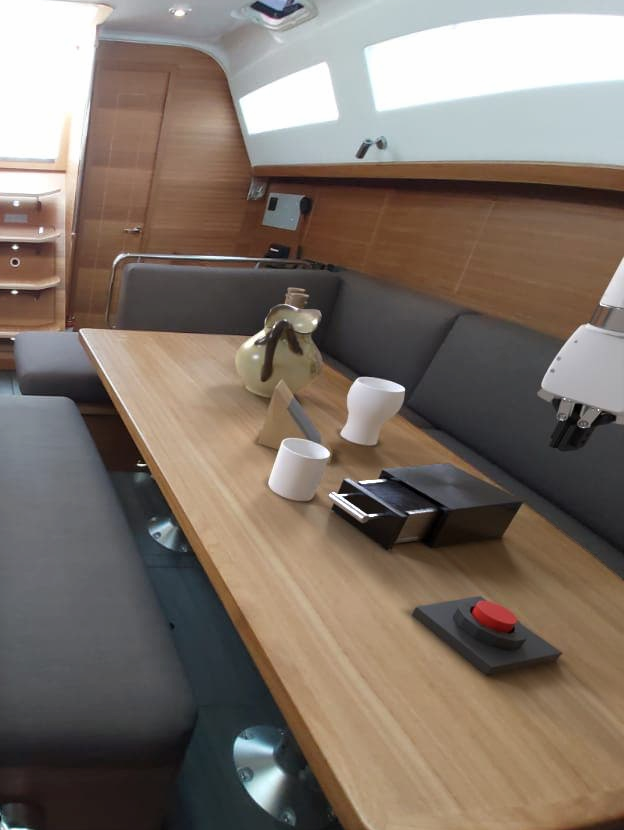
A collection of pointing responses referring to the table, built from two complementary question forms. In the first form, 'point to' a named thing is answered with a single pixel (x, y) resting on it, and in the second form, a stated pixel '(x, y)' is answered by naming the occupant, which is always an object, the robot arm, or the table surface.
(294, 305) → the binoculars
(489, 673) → the control block
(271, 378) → the pitcher
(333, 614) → the table surface
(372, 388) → the cup
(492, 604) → the button
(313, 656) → the table surface
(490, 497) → the black drawer box
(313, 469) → the mug
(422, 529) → the black drawer
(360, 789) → the table surface
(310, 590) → the table surface
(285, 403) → the sandwich container
